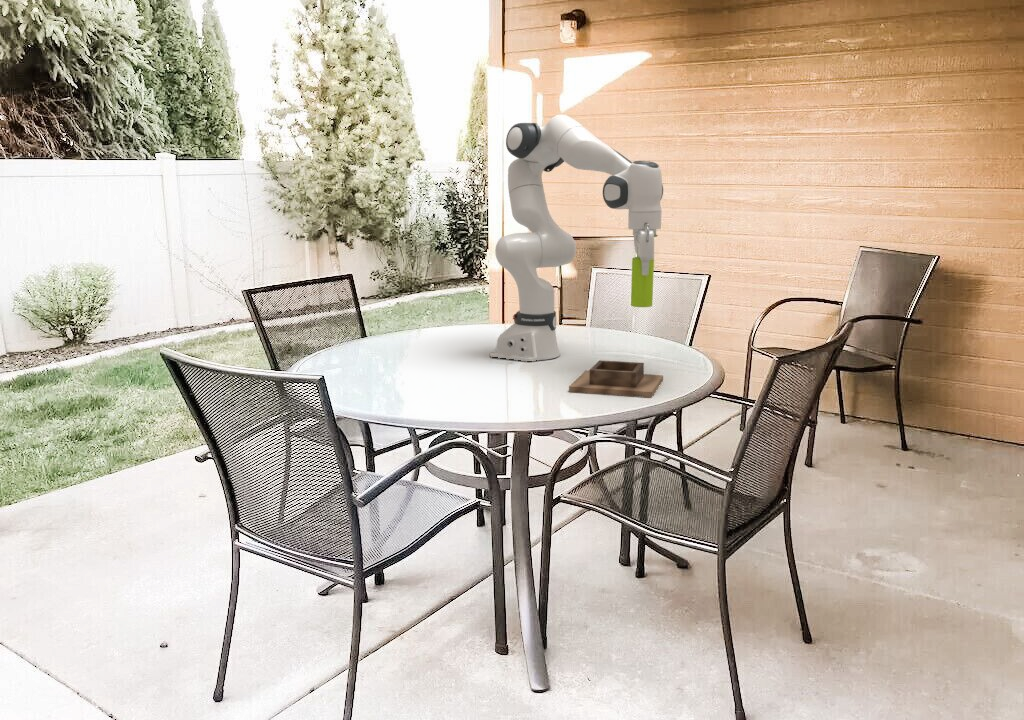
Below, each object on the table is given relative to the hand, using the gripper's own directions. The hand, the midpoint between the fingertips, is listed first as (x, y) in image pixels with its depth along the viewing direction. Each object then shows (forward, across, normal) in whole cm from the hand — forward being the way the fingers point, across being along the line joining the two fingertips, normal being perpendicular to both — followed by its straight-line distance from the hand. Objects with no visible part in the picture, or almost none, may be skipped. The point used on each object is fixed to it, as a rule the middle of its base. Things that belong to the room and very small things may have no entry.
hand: (643, 273), depth 215 cm
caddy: (+29, -11, +8) cm, 32 cm away
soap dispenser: (+9, 0, 0) cm, 9 cm away
